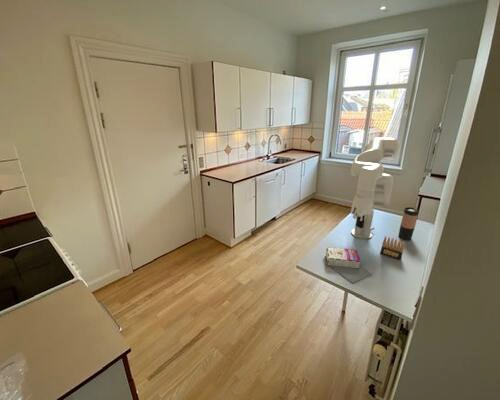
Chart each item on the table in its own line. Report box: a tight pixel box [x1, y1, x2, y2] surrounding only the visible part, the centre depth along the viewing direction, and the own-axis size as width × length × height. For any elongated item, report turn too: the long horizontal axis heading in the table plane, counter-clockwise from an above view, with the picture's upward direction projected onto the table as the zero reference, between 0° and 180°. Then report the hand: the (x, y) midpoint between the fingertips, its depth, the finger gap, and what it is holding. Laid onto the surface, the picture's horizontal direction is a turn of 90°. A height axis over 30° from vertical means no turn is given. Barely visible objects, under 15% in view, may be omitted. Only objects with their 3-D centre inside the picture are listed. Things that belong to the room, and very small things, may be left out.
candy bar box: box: [325, 246, 361, 268], centre depth 133 cm, size 11×5×16 cm
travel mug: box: [398, 207, 420, 241], centre depth 153 cm, size 8×8×20 cm
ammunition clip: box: [379, 235, 405, 261], centre depth 136 cm, size 11×2×12 cm, turn 51°
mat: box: [326, 262, 373, 285], centre depth 128 cm, size 14×18×1 cm
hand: (359, 226), depth 121 cm, fingers closed
